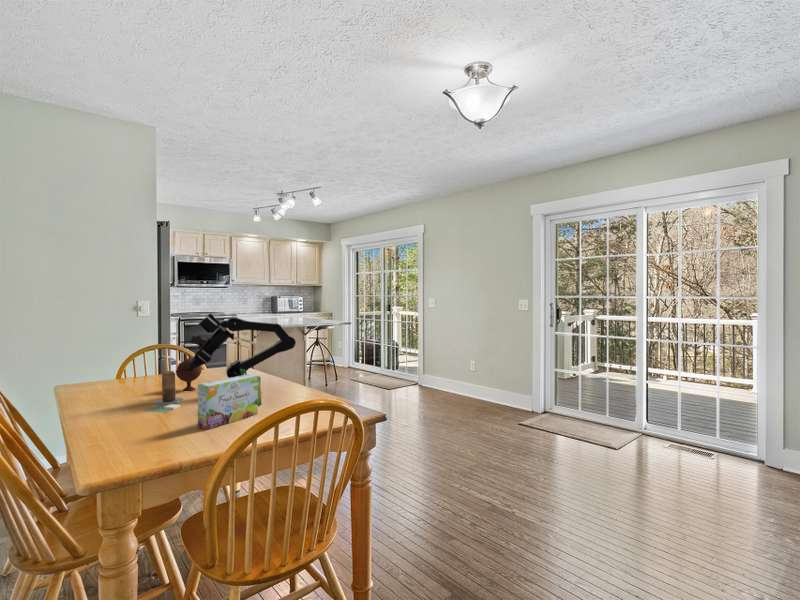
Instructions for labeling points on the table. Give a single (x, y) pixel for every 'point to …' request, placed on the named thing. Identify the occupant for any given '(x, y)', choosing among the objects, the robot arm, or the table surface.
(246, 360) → the robot arm
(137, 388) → the table surface
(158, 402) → the trivet
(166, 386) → the pepper mill
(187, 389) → the ice cream bowl
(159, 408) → the mat
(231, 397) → the snack box
